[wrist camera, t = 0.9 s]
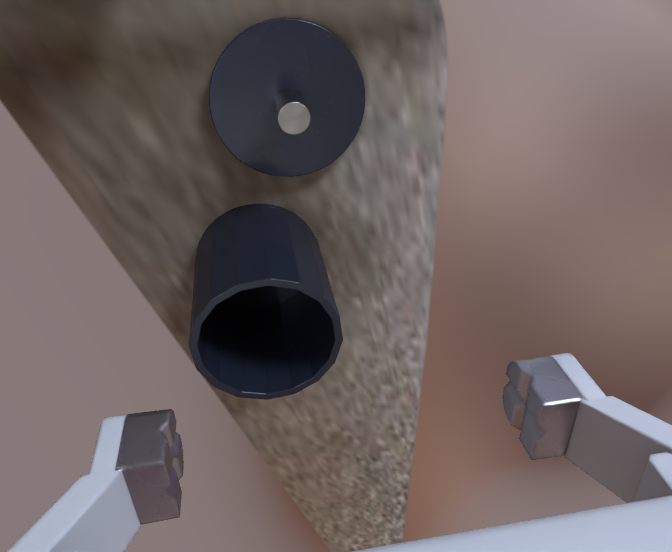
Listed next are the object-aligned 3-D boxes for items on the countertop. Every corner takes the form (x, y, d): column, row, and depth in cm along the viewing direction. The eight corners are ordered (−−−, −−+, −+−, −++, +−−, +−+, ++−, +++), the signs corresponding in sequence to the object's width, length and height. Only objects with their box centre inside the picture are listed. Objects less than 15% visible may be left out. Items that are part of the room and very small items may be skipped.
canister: (182, 216, 50) (171, 296, 39) (309, 193, 50) (332, 266, 40) (212, 318, 56) (210, 411, 45) (325, 296, 56) (349, 382, 46)
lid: (191, 30, 42) (188, 43, 38) (354, 4, 43) (369, 14, 38) (228, 182, 49) (228, 209, 44) (368, 158, 50) (382, 181, 45)
